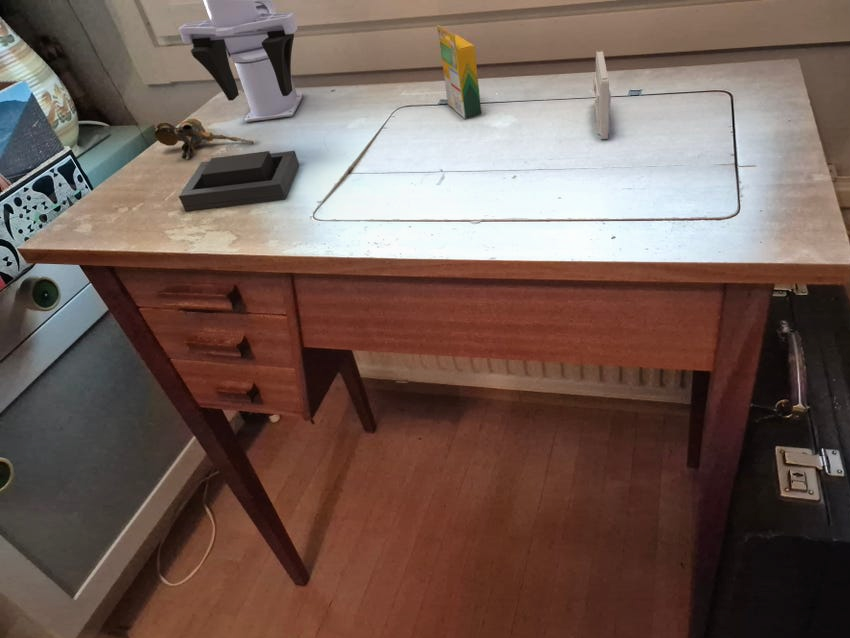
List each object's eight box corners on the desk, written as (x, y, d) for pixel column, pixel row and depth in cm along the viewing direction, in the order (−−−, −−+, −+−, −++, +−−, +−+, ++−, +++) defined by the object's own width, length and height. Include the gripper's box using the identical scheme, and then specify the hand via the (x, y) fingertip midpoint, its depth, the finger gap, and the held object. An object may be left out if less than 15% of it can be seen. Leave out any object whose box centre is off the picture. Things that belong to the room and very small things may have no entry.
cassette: (611, 139, 86) (612, 79, 81) (597, 140, 86) (597, 81, 81) (605, 105, 95) (606, 49, 90) (592, 106, 95) (592, 50, 90)
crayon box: (483, 114, 98) (473, 30, 90) (464, 119, 97) (453, 35, 90) (465, 100, 103) (454, 19, 96) (447, 104, 102) (435, 24, 95)
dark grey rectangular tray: (207, 176, 93) (201, 161, 91) (299, 165, 92) (294, 150, 90) (185, 211, 85) (178, 195, 84) (285, 199, 84) (279, 183, 83)
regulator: (262, 138, 103) (168, 129, 103) (255, 118, 99) (158, 109, 100) (249, 173, 99) (152, 164, 100) (241, 154, 96) (141, 144, 96)
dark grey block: (276, 171, 90) (269, 150, 88) (268, 188, 86) (260, 167, 84) (219, 178, 90) (211, 157, 88) (209, 195, 86) (200, 174, 84)
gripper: (150, -5, 76) (197, 111, 85) (267, -18, 74) (303, 102, 83) (177, -20, 82) (219, 91, 91) (287, -33, 79) (319, 82, 88)
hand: (260, 95), depth 87 cm, fingers open, 7 cm apart
